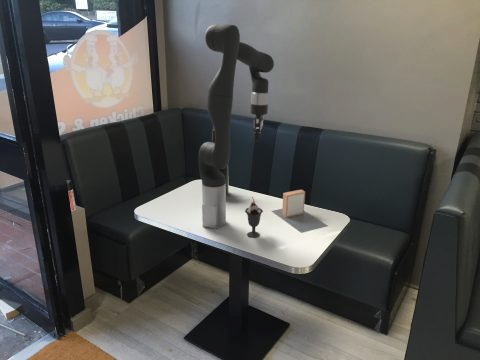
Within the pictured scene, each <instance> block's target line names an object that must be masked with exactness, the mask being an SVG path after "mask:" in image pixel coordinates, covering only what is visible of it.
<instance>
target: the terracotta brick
mask: <svg viewBox="0 0 480 360" xmlns="http://www.w3.org/2000/svg"><path fill="white" fill-rule="evenodd" d="M305 199H306V191H304V189H298V190H297V189H296V190H292V191H287V192H283V193H282V208H281V209H282V215H283V216H284V217H285V218H287V217H291V216H296V215H300V214H304V211H305V202H306V201H305Z"/></svg>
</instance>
